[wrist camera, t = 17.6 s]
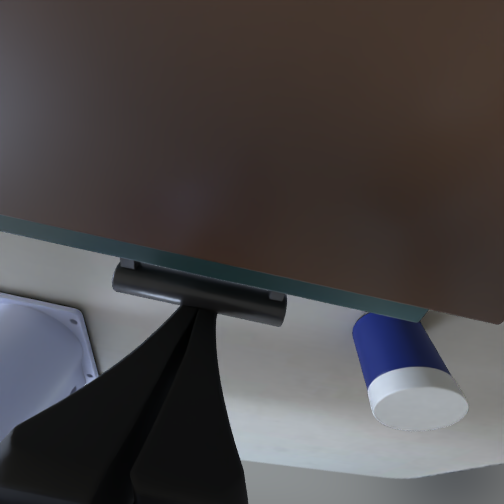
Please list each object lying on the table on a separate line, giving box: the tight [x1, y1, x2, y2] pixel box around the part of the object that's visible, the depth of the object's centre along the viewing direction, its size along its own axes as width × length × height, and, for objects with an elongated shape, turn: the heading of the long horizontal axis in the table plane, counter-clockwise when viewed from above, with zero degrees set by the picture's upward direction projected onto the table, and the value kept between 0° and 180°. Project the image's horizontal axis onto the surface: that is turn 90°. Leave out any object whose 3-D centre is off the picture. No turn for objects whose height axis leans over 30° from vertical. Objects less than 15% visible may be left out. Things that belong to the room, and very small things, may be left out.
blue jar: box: [352, 313, 469, 431], centre depth 14 cm, size 4×4×5 cm
